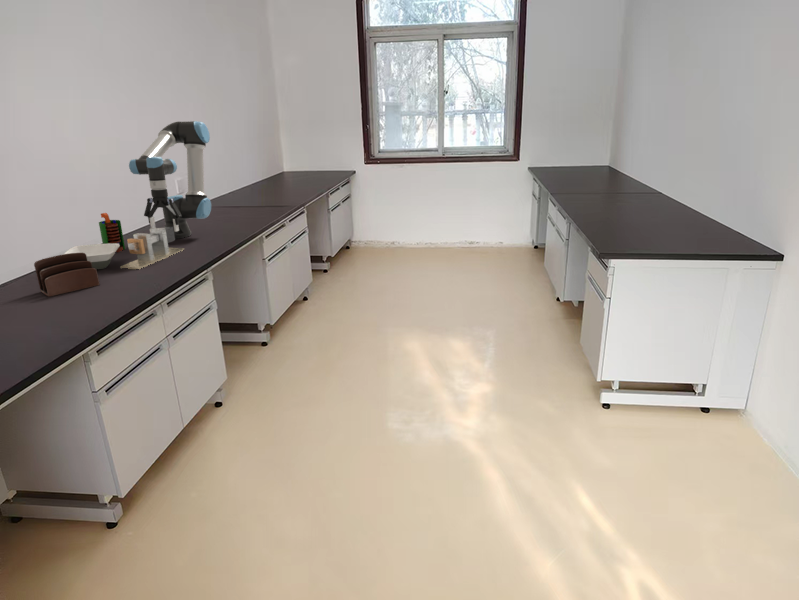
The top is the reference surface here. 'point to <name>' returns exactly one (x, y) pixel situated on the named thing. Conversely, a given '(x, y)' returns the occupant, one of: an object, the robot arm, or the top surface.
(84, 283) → the letter holder
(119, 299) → the top surface
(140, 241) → the spacer
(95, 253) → the bowl
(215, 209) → the top surface
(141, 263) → the frame
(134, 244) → the shaft
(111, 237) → the motor
